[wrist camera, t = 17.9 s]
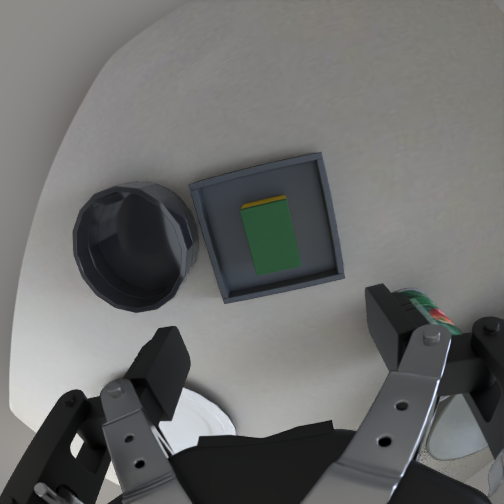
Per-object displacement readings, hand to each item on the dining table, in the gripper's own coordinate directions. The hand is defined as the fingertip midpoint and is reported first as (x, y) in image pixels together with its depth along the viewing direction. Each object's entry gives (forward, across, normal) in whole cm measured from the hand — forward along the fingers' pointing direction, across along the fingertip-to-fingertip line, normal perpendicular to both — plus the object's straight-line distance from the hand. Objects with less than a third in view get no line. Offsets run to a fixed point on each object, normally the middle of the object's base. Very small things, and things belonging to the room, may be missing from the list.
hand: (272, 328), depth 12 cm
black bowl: (+18, +13, -2) cm, 22 cm away
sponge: (+18, 0, 0) cm, 18 cm away
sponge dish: (+18, 0, 0) cm, 18 cm away
